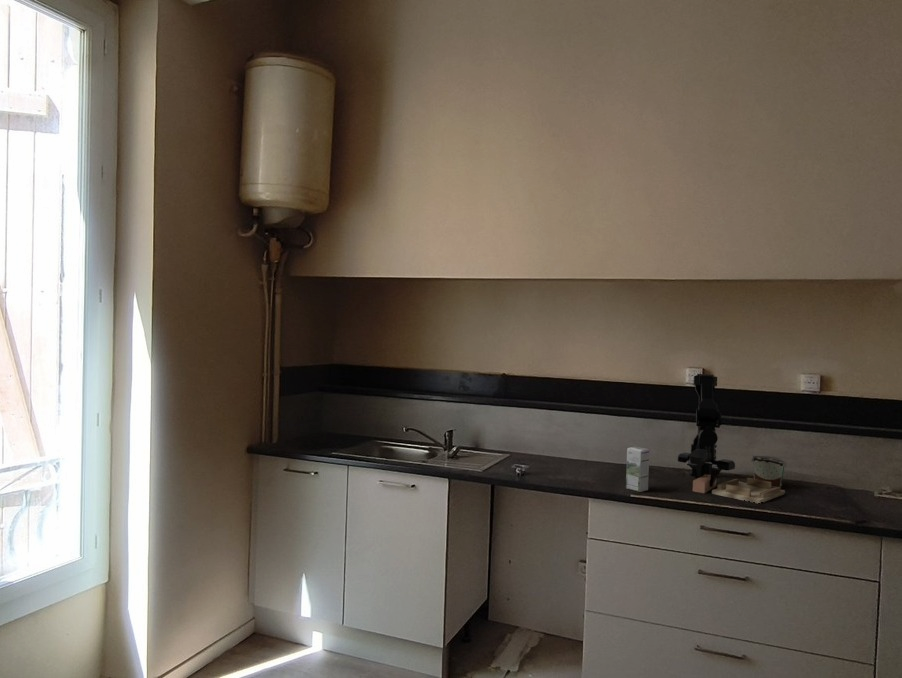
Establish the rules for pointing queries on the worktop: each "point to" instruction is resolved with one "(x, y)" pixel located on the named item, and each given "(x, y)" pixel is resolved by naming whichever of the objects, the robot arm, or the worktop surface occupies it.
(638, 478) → the syrup box
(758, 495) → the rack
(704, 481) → the pinkish brown block
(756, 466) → the food container
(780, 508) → the worktop surface
